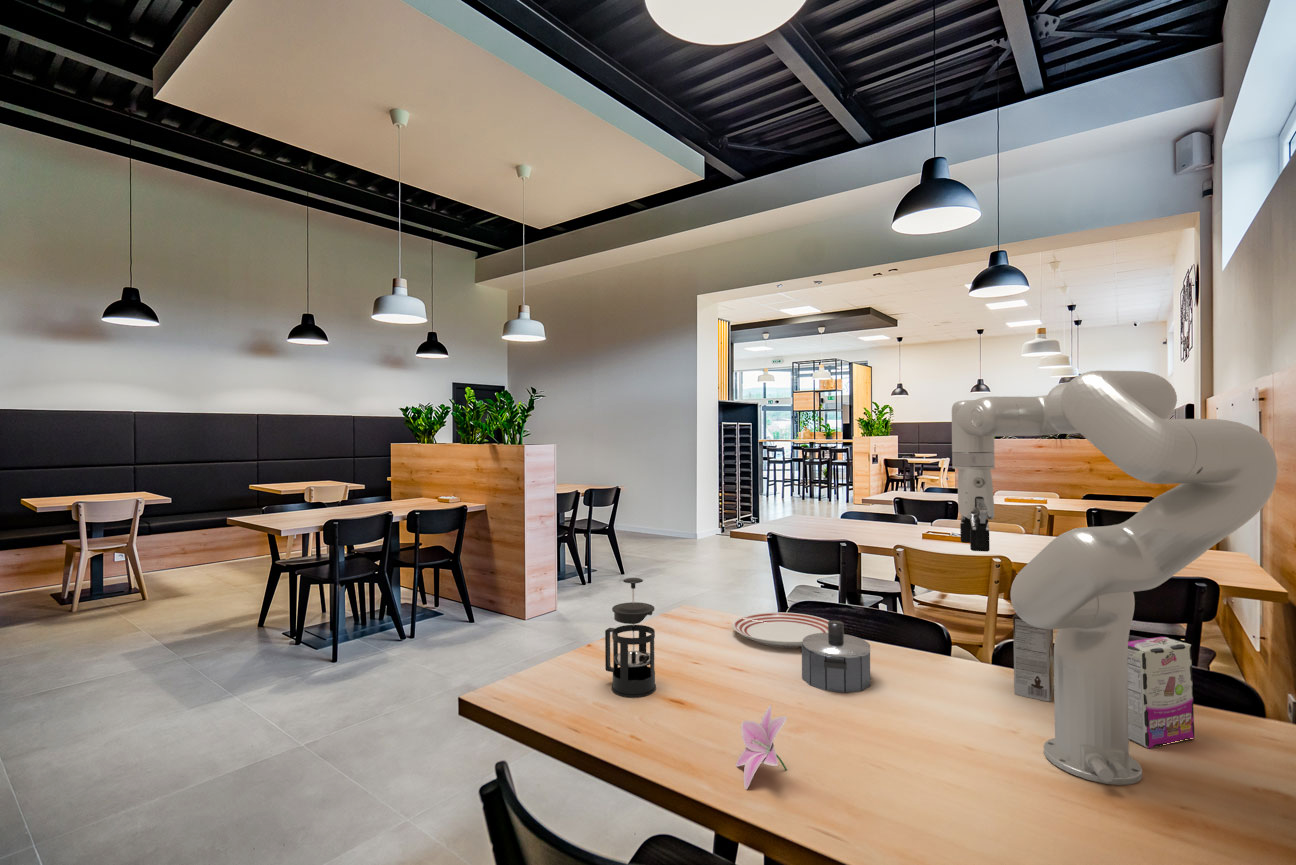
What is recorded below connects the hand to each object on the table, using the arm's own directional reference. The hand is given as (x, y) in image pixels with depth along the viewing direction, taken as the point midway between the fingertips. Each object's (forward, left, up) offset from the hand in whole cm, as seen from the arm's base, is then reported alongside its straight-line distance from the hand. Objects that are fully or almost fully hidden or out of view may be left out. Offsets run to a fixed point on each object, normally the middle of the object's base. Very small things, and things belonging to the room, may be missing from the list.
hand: (974, 546), depth 121 cm
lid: (+2, +27, -24) cm, 36 cm away
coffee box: (+7, -12, -31) cm, 34 cm away
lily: (-40, +38, -31) cm, 63 cm away
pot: (+2, +27, -30) cm, 41 cm away
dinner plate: (+28, +40, -31) cm, 58 cm away
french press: (-15, +68, -31) cm, 76 cm away
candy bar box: (-9, -26, -31) cm, 41 cm away
